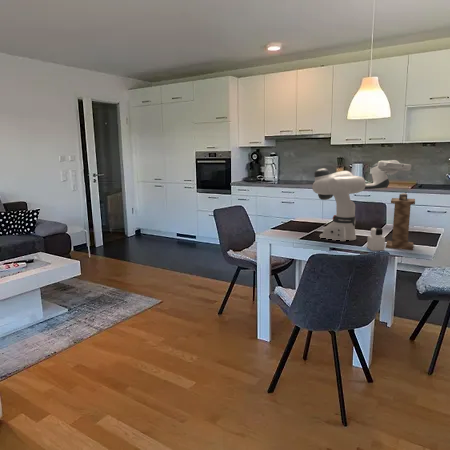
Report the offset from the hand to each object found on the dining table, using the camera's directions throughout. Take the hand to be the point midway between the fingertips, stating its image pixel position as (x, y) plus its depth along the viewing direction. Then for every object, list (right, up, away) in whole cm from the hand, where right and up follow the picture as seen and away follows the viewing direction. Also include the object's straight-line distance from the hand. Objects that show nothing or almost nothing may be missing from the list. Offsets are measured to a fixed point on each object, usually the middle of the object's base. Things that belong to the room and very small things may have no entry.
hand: (395, 164), depth 244 cm
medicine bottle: (-24, -52, -28) cm, 64 cm away
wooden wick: (-6, -23, -24) cm, 33 cm away
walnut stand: (-8, -51, -24) cm, 56 cm away
